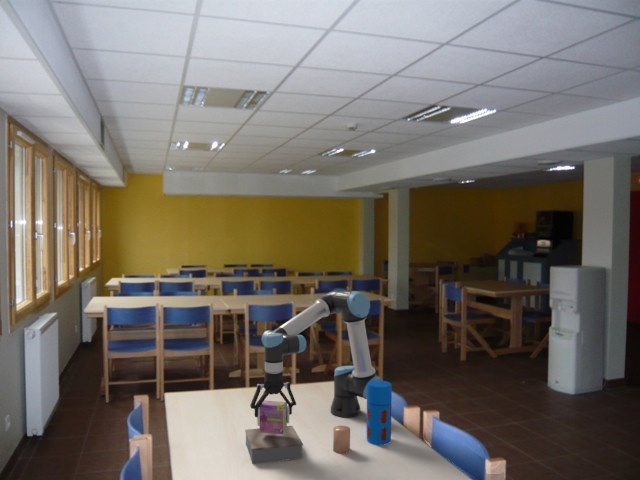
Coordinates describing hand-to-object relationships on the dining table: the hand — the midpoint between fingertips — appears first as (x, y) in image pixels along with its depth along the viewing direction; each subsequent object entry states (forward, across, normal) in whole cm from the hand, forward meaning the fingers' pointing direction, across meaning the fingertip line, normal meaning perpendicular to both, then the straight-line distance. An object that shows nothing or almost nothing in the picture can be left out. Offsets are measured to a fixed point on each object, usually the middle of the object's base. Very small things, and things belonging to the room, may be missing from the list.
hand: (273, 423), depth 217 cm
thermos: (+12, -47, 0) cm, 48 cm away
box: (+3, 0, 0) cm, 3 cm away
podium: (+11, 0, 0) cm, 11 cm away
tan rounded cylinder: (+11, -28, +6) cm, 31 cm away
